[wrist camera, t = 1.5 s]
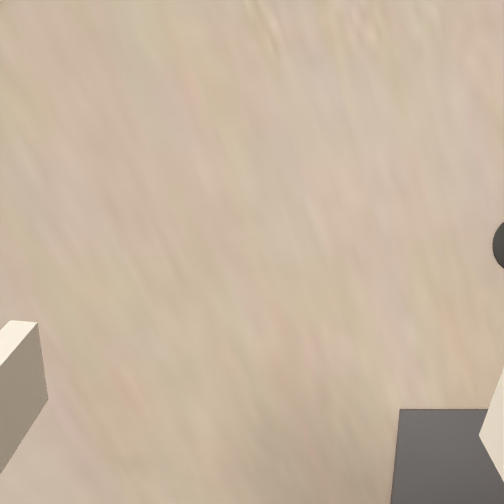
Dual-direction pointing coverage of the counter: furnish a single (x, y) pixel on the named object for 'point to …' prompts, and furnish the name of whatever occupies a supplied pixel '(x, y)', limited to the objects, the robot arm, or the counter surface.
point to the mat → (444, 459)
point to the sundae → (499, 245)
